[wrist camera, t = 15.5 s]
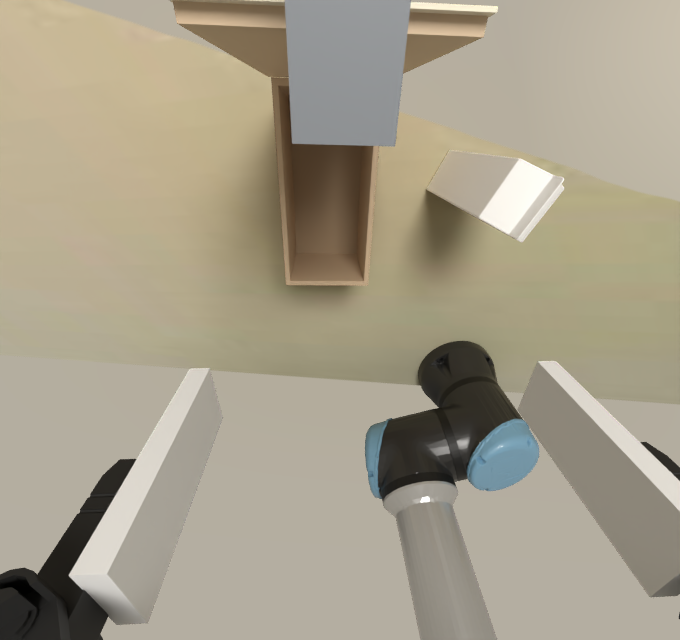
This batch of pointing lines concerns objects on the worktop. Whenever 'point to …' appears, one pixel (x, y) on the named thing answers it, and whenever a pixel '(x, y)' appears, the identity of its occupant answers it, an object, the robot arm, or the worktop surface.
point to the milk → (497, 190)
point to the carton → (323, 204)
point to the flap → (336, 54)
